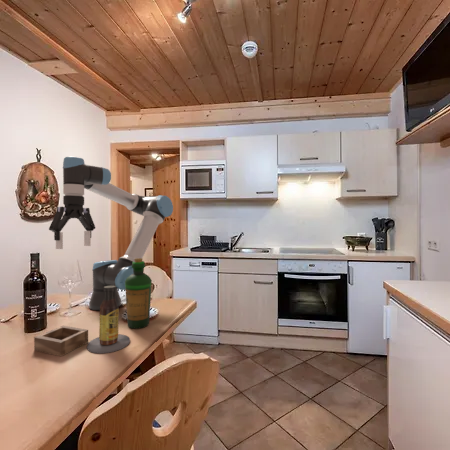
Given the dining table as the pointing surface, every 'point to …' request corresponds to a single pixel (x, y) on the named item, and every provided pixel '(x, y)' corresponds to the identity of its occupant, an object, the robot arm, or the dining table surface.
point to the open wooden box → (61, 340)
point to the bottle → (138, 296)
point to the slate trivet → (96, 347)
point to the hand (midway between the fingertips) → (74, 247)
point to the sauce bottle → (109, 317)
